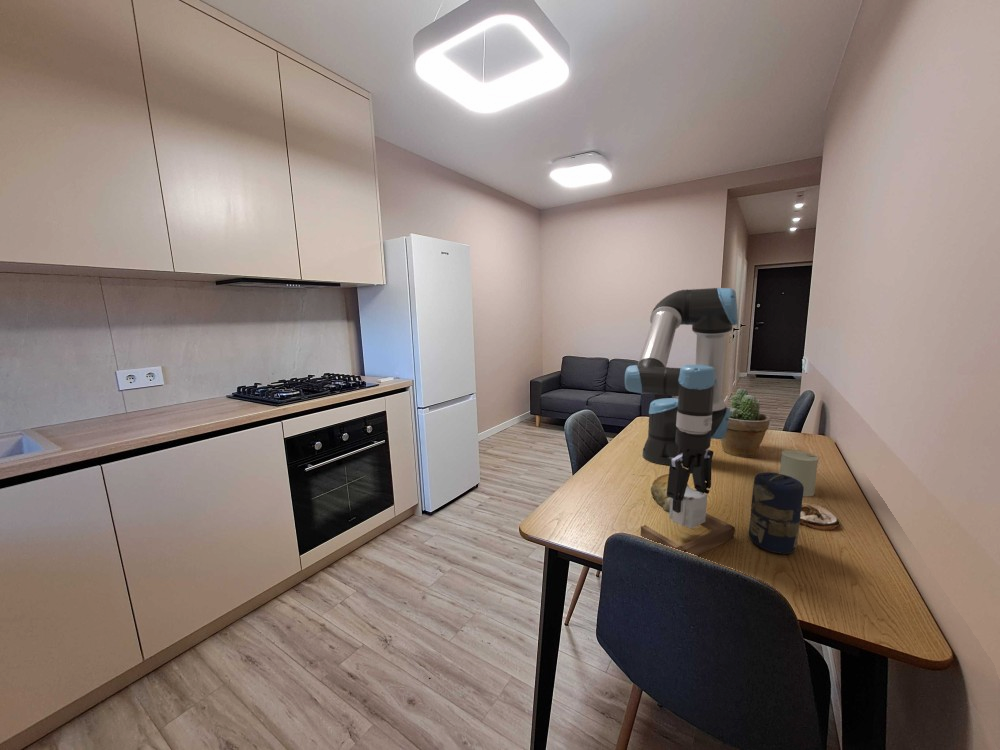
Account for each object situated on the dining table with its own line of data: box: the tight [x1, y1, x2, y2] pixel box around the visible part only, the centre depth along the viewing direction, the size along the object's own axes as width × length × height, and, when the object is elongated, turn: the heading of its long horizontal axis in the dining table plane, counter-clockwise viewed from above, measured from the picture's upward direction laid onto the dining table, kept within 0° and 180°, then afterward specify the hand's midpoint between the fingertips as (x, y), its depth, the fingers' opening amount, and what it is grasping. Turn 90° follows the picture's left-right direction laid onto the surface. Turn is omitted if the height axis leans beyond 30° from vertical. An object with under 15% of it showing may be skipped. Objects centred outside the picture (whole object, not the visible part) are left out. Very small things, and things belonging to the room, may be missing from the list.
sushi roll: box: [799, 502, 840, 531], centre depth 103 cm, size 15×15×4 cm
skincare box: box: [668, 486, 708, 530], centre depth 93 cm, size 6×6×7 cm
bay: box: [640, 512, 736, 556], centre depth 94 cm, size 12×20×3 cm, turn 118°
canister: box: [748, 471, 804, 555], centre depth 90 cm, size 10×10×18 cm
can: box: [779, 449, 819, 498], centre depth 118 cm, size 9×9×12 cm
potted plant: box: [719, 388, 772, 458], centre depth 150 cm, size 18×19×25 cm
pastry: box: [650, 473, 691, 512], centre depth 112 cm, size 14×12×8 cm
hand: (687, 519), depth 94 cm, fingers closed on skincare box, 6 cm apart
